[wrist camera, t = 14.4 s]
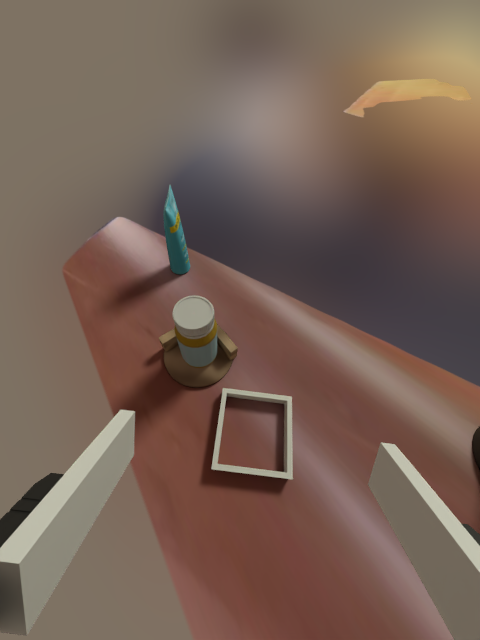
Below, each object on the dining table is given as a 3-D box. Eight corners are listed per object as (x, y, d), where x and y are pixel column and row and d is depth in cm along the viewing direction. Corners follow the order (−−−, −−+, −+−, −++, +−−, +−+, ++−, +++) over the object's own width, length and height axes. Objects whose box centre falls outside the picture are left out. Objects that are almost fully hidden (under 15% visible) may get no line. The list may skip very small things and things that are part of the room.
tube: (190, 278, 60) (179, 206, 44) (170, 278, 59) (152, 206, 43) (189, 256, 64) (179, 184, 47) (171, 257, 63) (154, 184, 47)
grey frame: (288, 400, 46) (291, 396, 44) (288, 478, 39) (292, 479, 37) (222, 391, 46) (223, 387, 43) (211, 469, 39) (211, 469, 37)
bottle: (202, 376, 46) (196, 340, 33) (175, 356, 48) (159, 315, 35) (224, 349, 49) (225, 307, 37) (197, 331, 51) (190, 286, 38)
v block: (232, 392, 46) (233, 385, 42) (152, 382, 46) (146, 374, 42) (240, 327, 53) (241, 317, 50) (171, 319, 53) (168, 307, 50)
